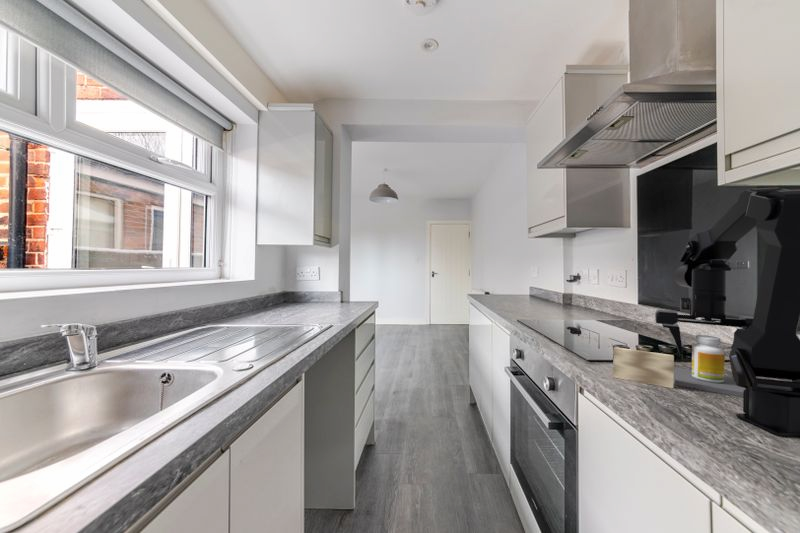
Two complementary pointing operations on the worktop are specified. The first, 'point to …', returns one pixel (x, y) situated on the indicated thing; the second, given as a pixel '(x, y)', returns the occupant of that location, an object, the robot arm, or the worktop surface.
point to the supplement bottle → (708, 359)
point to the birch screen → (643, 366)
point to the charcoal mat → (707, 383)
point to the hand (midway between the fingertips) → (707, 357)
